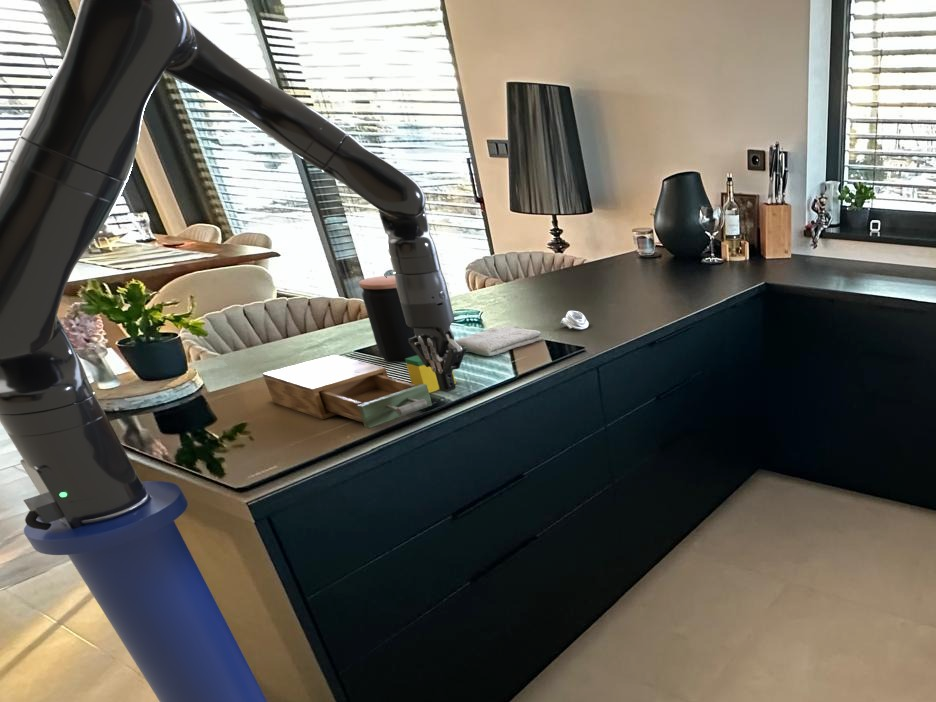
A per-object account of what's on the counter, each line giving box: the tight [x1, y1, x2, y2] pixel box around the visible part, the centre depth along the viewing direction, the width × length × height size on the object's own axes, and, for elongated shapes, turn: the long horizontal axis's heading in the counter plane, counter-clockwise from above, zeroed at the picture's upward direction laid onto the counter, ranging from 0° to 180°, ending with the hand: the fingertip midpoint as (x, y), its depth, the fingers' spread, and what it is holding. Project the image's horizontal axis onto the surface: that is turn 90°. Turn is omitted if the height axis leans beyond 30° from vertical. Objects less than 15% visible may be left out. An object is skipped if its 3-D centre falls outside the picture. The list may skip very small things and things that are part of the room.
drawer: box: [319, 374, 433, 429], centre depth 117 cm, size 20×12×4 cm, turn 63°
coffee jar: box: [358, 275, 417, 363], centre depth 145 cm, size 11×11×18 cm
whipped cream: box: [559, 310, 589, 330], centre depth 174 cm, size 8×7×5 cm
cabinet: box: [262, 354, 389, 420], centre depth 124 cm, size 17×14×6 cm
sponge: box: [405, 355, 457, 394], centre depth 130 cm, size 7×4×7 cm, turn 153°
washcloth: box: [454, 325, 543, 357], centre depth 158 cm, size 12×18×3 cm, turn 155°
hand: (448, 390), depth 116 cm, fingers closed
